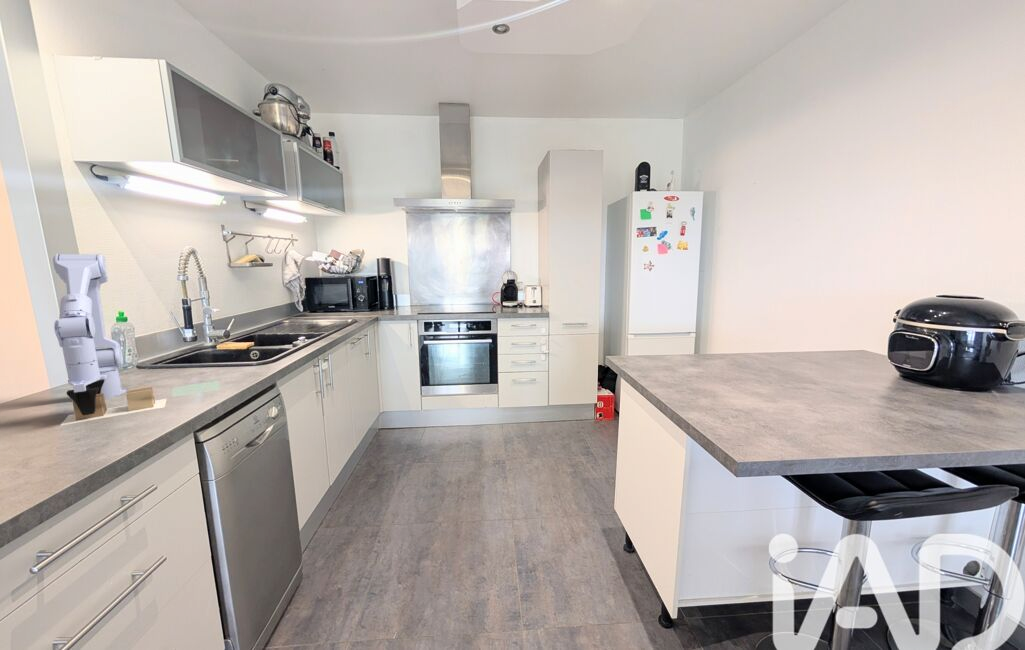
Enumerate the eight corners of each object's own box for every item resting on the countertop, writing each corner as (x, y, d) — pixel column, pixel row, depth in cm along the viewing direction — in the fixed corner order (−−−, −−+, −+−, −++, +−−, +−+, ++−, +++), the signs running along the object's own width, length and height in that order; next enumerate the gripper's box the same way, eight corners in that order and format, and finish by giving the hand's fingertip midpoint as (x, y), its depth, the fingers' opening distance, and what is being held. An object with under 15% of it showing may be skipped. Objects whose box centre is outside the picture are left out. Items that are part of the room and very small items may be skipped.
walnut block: (80, 414, 106) (77, 397, 105) (106, 410, 109) (103, 393, 108) (76, 420, 102) (72, 402, 101) (103, 415, 105) (100, 398, 104)
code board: (69, 416, 106) (69, 414, 106) (166, 400, 118) (166, 398, 118) (60, 427, 99) (59, 425, 99) (164, 409, 111) (164, 406, 111)
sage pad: (173, 389, 128) (173, 387, 128) (218, 382, 136) (218, 380, 136) (171, 399, 119) (171, 397, 119) (220, 391, 127) (219, 389, 126)
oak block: (131, 406, 112) (128, 389, 111) (154, 402, 115) (152, 385, 114) (129, 411, 108) (126, 394, 107) (153, 407, 111) (150, 390, 110)
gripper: (98, 365, 100) (107, 415, 102) (108, 354, 111) (116, 400, 113) (56, 369, 95) (67, 422, 98) (71, 358, 107) (81, 405, 109)
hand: (91, 410), depth 105 cm, fingers open, 5 cm apart
